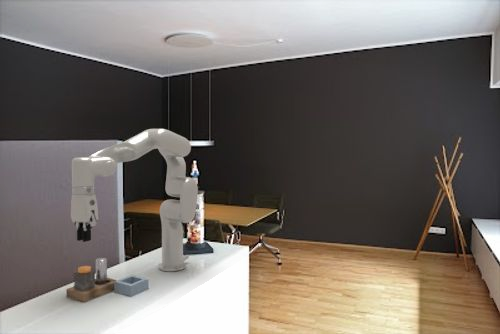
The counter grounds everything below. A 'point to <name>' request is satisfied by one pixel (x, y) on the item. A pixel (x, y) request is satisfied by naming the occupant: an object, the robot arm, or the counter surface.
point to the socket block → (88, 287)
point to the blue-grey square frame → (131, 285)
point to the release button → (84, 269)
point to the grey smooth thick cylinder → (101, 271)
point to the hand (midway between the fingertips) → (84, 240)
